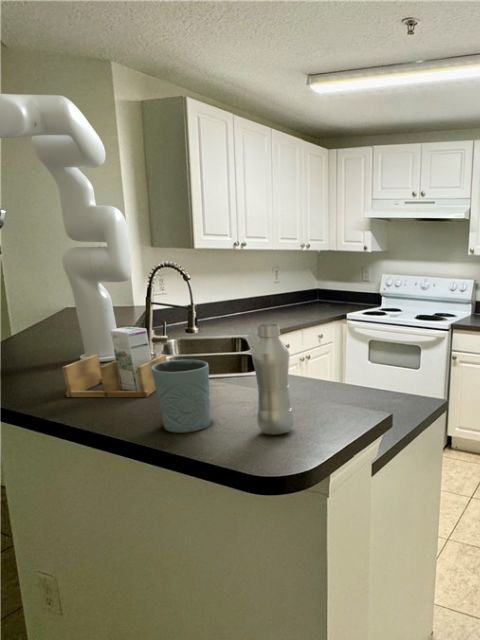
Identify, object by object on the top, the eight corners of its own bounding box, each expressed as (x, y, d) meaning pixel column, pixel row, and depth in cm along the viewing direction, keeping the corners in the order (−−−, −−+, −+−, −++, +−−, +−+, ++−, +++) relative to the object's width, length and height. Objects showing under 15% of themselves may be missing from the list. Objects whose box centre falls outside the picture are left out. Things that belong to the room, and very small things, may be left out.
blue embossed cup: (185, 415, 112) (177, 357, 108) (226, 420, 109) (219, 361, 105) (148, 430, 103) (138, 368, 99) (192, 437, 100) (183, 373, 96)
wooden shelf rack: (98, 381, 138) (93, 354, 135) (171, 381, 138) (167, 354, 135) (66, 397, 125) (60, 367, 122) (147, 397, 125) (142, 367, 122)
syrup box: (157, 387, 133) (147, 327, 127) (137, 393, 128) (126, 331, 122) (140, 384, 135) (130, 325, 130) (120, 390, 130) (108, 329, 125)
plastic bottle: (261, 427, 105) (251, 322, 98) (296, 426, 105) (289, 322, 98) (255, 439, 99) (244, 328, 92) (293, 438, 99) (285, 327, 92)
